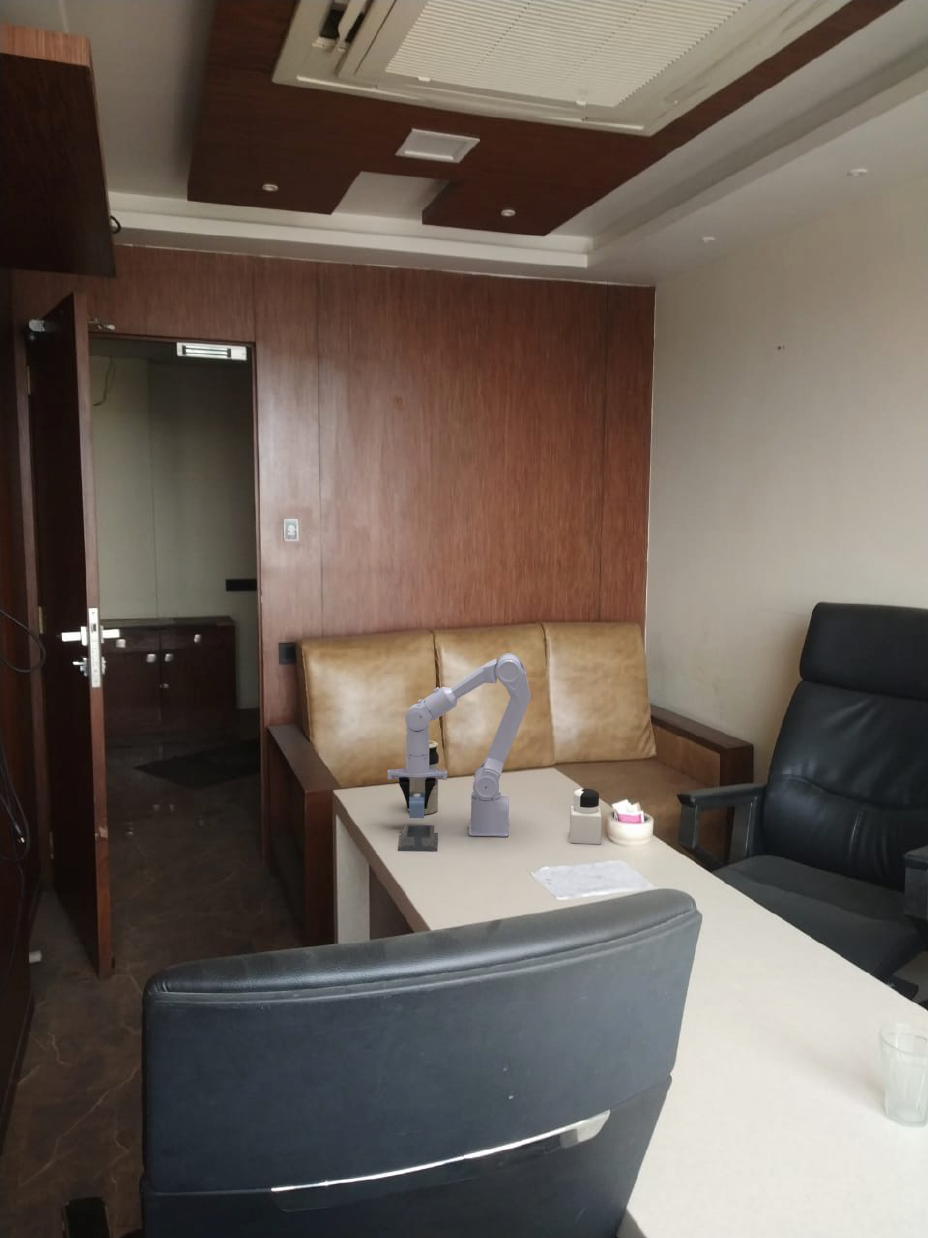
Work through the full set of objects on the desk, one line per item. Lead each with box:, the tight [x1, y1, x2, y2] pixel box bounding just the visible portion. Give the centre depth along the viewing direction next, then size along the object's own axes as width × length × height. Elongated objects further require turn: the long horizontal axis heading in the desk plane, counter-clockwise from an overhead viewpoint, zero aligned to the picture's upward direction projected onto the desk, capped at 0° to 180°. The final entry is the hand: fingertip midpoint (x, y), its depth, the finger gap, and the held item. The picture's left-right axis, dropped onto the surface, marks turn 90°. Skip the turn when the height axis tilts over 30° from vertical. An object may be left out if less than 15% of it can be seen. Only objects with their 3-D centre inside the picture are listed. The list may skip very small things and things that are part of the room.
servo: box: [408, 791, 425, 819], centre depth 216 cm, size 4×7×6 cm, turn 0°
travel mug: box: [407, 739, 440, 815], centre depth 229 cm, size 8×8×18 cm
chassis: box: [397, 824, 439, 852], centre depth 206 cm, size 9×10×3 cm
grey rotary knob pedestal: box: [569, 788, 603, 845], centre depth 211 cm, size 7×7×12 cm
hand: (417, 807), depth 216 cm, fingers closed on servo, 4 cm apart
